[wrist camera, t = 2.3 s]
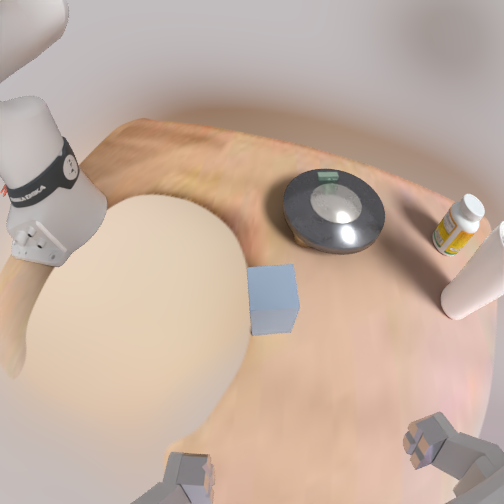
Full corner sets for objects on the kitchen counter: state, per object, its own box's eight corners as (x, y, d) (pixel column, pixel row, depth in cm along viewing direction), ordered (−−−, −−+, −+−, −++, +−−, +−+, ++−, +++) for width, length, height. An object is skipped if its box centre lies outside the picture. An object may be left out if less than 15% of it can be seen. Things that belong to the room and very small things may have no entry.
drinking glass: (428, 286, 33) (489, 220, 20) (459, 278, 33) (517, 217, 21) (443, 331, 29) (517, 278, 17) (474, 319, 30) (542, 267, 17)
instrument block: (252, 335, 31) (249, 311, 24) (249, 300, 33) (246, 267, 27) (291, 332, 31) (299, 307, 24) (286, 297, 33) (293, 264, 27)
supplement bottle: (426, 241, 37) (455, 200, 29) (438, 224, 39) (464, 184, 31) (451, 264, 35) (484, 226, 27) (461, 244, 37) (490, 207, 28)
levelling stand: (289, 268, 35) (292, 248, 31) (276, 189, 43) (277, 166, 39) (388, 260, 36) (400, 241, 32) (360, 186, 43) (367, 165, 39)
